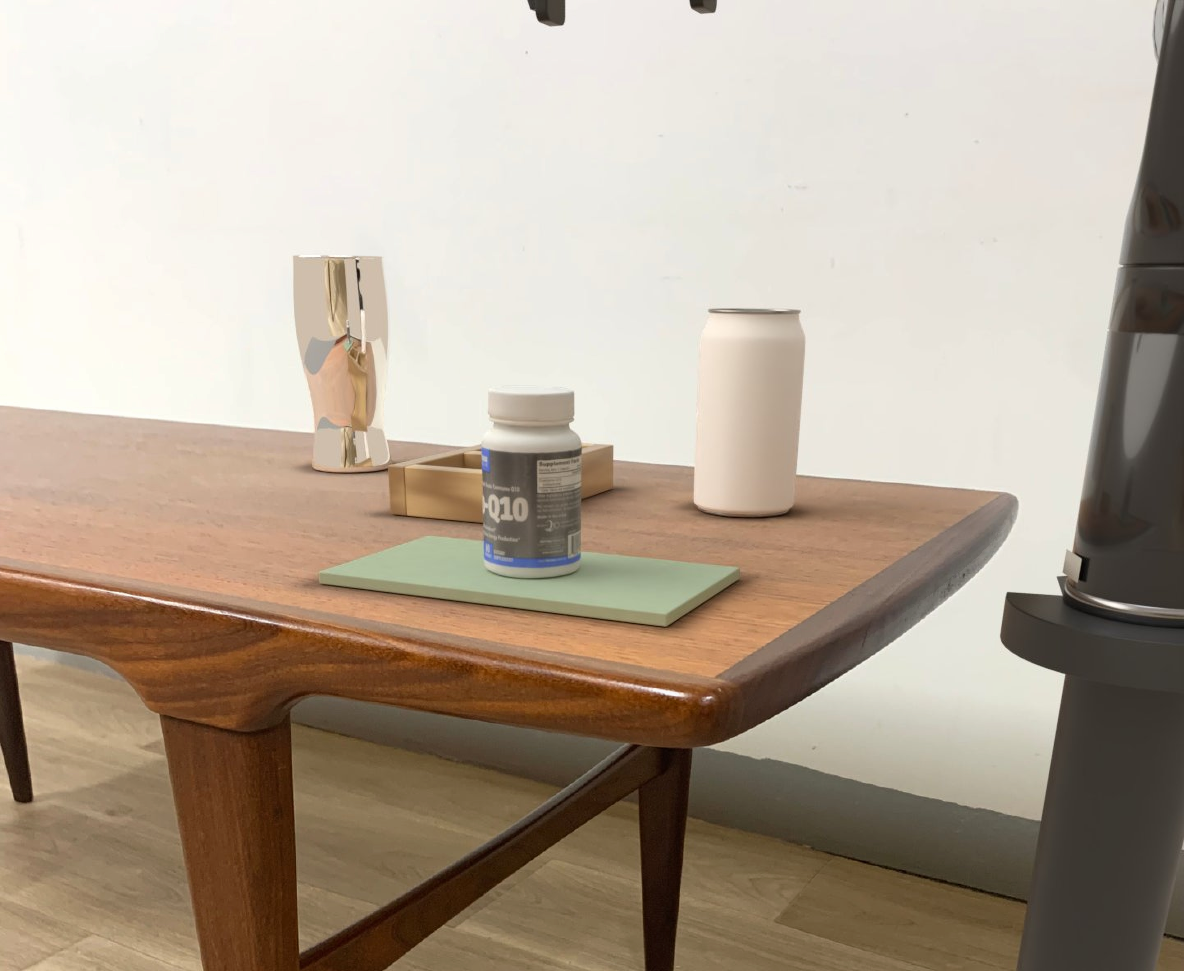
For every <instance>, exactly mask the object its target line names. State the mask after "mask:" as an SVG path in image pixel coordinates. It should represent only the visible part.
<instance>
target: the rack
mask: <svg viewBox="0 0 1184 971" xmlns="http://www.w3.org/2000/svg"><path fill="white" fill-rule="evenodd" d="M581 444H582V463H581V501H582V500H585V499H588V498H589V497H593V496H596V495H598V494H601V493H604V492H606V491H609V490H612V489H613V488H614V444H607V443H606V444H604V443H589V442H581ZM481 445H482V443H480V444H477V445H473V446H472V445H471V446H467V447H463V448H459V449H455V450H450V451H446V452H441V453H436V454H432V455H428V456H423V457H419V458H414V459H410V460H406V461H402V462H397V463H392V465H389V466H388V469H387V475H388V492H389V493H388V494H389V509H390V510H389V511H390V512H389V513H390V514H391V515H393V516H394V515H396V516H405V517H406V516H408V517H417V518H427V519H437V520H445V521H446V520H447V521H456V522H458V521H459V522H467V523H477V524H483V484H482V452H481Z"/></svg>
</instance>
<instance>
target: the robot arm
mask: <svg viewBox="0 0 1184 971" xmlns="http://www.w3.org/2000/svg"><path fill="white" fill-rule="evenodd" d="M688 1H689V6H690V8H691V10H693V11H695V12H696V13H698V14H700V15H704V14H705V15H706V14H714V13H716V11H717V6H718V0H688ZM526 2H527V5H528V7H529V10H530V11H533V12H534V14H535V18H536V20H537V22H538V23H540V24H543V25H545V26H548V27H563V26H564V25H565V23H566V0H526ZM1151 30H1152V32H1151V37H1152V47H1153V54H1154V58H1155V61H1156V64H1157V65H1156V71H1155V75H1154V76H1155V77H1154V82H1153V88H1152V95H1151V102H1150V108H1149V113H1148V117H1147V118H1148V119H1147V126H1146V131H1145V137H1144V143H1143V148H1142V153H1141V157H1140V163H1139V166H1138V170H1137V175H1136V180H1135V183H1134V187H1133V191H1132V196H1131V198H1130V201H1129V205H1128V209H1127V213H1126V216H1125V222H1124V227H1123V234H1122V239H1121V247H1120V251H1119V252H1120V253H1119V259H1118V265H1120V266H1119V267H1117V271H1116V278H1115V284H1114V290H1113V291H1114V292H1113V295H1112V301H1111V302H1112V303H1111V308H1110V315H1109V322H1108V328H1107V329H1108V330H1107V334H1106V340H1105V344H1104V353H1103V358H1102V364H1101V371H1100V375H1099V376H1100V377H1099V383H1098V388H1097V389H1098V390H1097V396H1096V402H1095V408H1094V414H1093V421H1092V426H1091V432H1090V439H1089V445H1088V451H1087V458H1086V464H1085V470H1084V477H1083V482H1082V487H1081V488H1082V489H1081V493H1080V494H1081V496H1080V501H1079V508H1078V513H1077V518H1076V525H1075V532H1074V539H1073V544H1072V551H1070V550H1069V549H1068V548H1066V550H1065V555H1064V560H1063V561H1064V562H1063V567H1062V574H1064V576H1068V578H1067V579H1066V582H1065V588H1064V594H1063V595H1062V596H1063V600H1064V601H1065V603H1067V604H1068V605H1069V606H1071V607H1073V608H1075V609H1077V610H1079V611H1082V612H1085V613H1087V614H1090V615H1094V616H1097V617H1101V618H1105V619H1110V620H1114V621H1119V622H1125V623H1131V624H1138V625H1145V626H1155V627H1166V628H1184V0H1156V2H1155V6H1154V10H1153V18H1152V29H1151Z"/></svg>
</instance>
